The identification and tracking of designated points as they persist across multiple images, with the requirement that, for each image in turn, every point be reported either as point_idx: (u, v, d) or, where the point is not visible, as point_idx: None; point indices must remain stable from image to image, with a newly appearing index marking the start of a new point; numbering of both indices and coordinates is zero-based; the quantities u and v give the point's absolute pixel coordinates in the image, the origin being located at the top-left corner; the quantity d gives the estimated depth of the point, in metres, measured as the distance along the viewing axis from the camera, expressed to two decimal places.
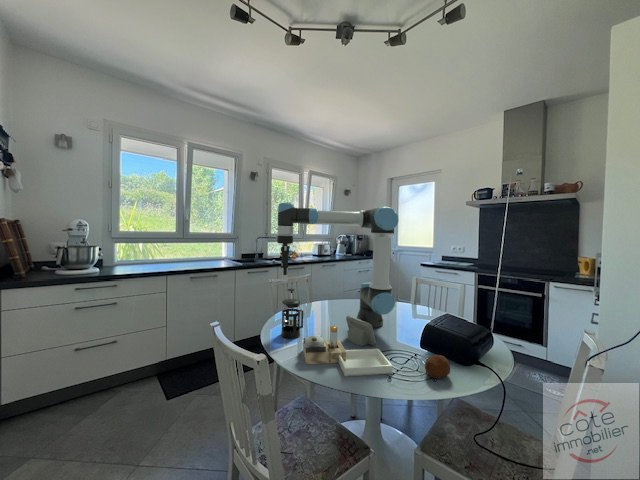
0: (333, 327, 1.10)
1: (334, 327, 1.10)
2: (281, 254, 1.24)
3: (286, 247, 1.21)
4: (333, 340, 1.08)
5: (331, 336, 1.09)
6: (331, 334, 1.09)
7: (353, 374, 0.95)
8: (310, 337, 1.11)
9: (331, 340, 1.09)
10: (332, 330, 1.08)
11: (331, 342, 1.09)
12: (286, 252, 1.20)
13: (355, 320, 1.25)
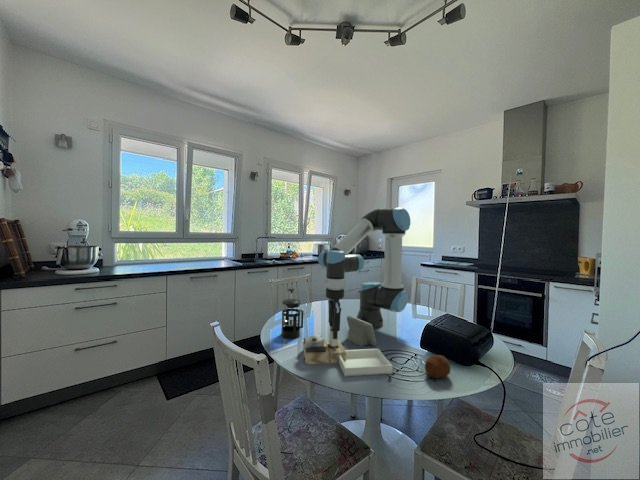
0: None
1: None
2: (331, 312, 1.07)
3: (339, 310, 1.03)
4: None
5: None
6: None
7: (353, 374, 0.95)
8: (310, 337, 1.11)
9: None
10: None
11: None
12: (338, 315, 1.04)
13: (356, 320, 1.25)
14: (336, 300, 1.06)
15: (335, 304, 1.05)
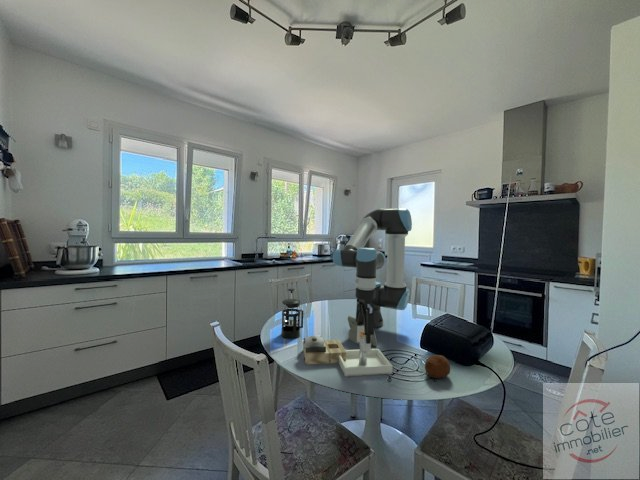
0: None
1: None
2: (362, 314, 0.99)
3: (372, 310, 0.95)
4: None
5: (361, 343, 1.02)
6: (361, 340, 1.02)
7: (353, 374, 0.95)
8: (310, 337, 1.11)
9: (361, 347, 1.02)
10: (362, 336, 1.01)
11: (361, 349, 1.02)
12: (371, 316, 0.96)
13: None
14: (368, 301, 0.98)
15: (367, 304, 0.98)
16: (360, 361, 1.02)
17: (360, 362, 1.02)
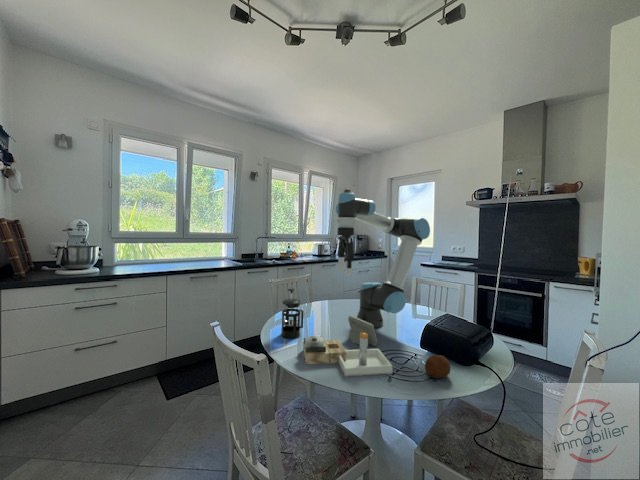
0: (363, 333, 1.02)
1: (364, 333, 1.02)
2: (343, 247, 1.18)
3: (350, 239, 1.15)
4: (364, 347, 1.01)
5: (361, 343, 1.01)
6: (361, 341, 1.01)
7: (353, 374, 0.95)
8: (310, 337, 1.11)
9: (361, 347, 1.02)
10: (363, 336, 1.01)
11: (361, 349, 1.02)
12: (350, 244, 1.14)
13: (357, 320, 1.24)
14: (347, 236, 1.17)
15: (346, 238, 1.17)
16: (360, 361, 1.02)
17: (360, 362, 1.02)
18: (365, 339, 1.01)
